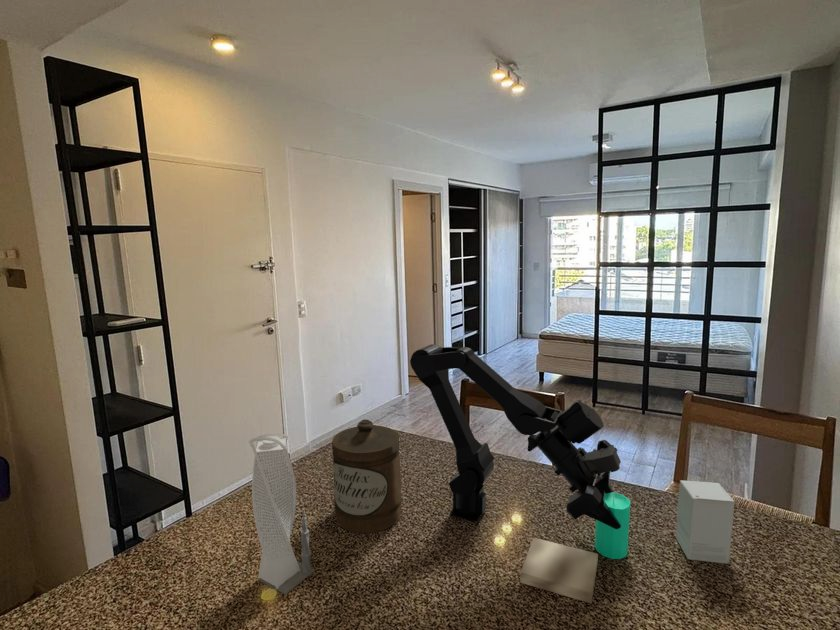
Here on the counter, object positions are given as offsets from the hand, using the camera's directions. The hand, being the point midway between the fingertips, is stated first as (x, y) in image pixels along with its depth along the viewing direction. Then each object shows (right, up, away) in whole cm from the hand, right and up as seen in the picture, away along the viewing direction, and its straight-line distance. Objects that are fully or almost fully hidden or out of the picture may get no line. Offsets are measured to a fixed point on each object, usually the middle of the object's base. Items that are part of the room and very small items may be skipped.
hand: (620, 520), depth 92 cm
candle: (-1, -7, +2) cm, 7 cm away
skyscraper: (-64, -8, -5) cm, 65 cm away
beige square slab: (-13, -8, -5) cm, 16 cm away
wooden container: (-50, -5, +15) cm, 53 cm away
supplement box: (+16, -7, +1) cm, 18 cm away
